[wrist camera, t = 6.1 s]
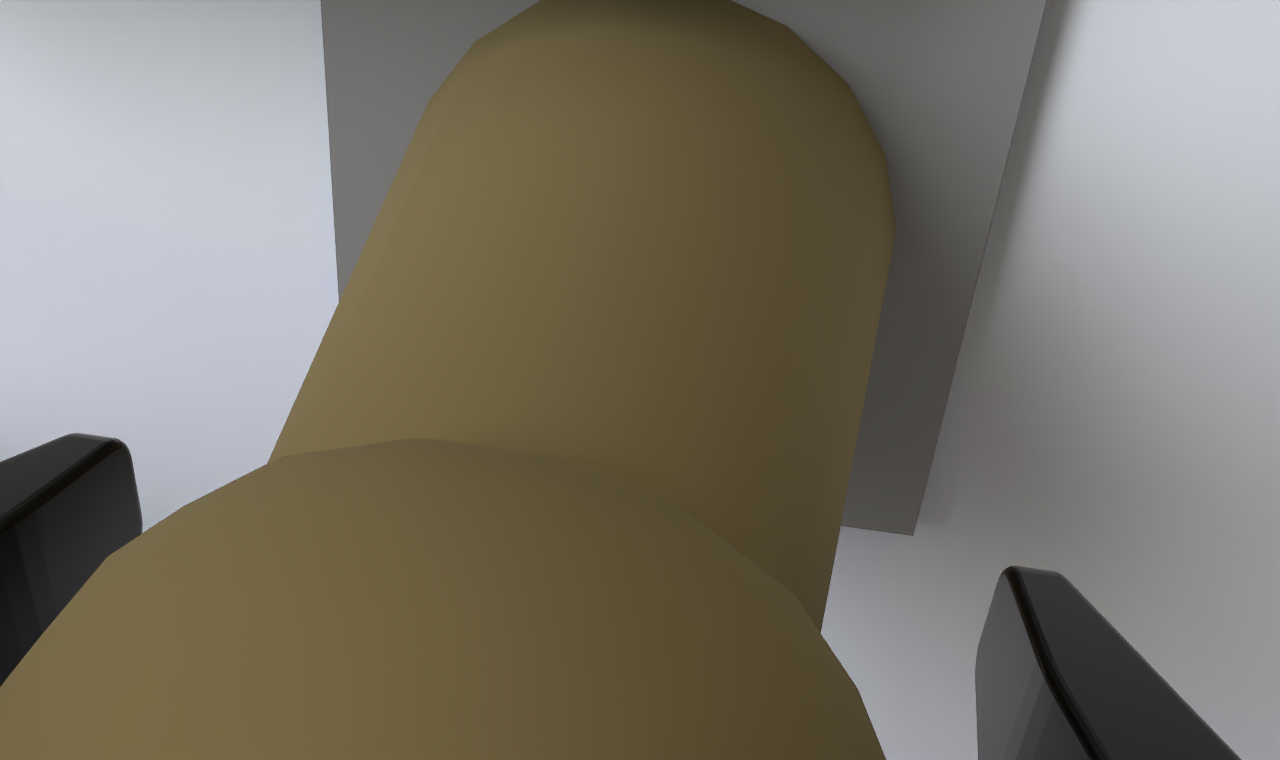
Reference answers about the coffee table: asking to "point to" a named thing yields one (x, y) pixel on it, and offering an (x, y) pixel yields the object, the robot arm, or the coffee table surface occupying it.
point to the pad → (891, 101)
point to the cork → (537, 438)
